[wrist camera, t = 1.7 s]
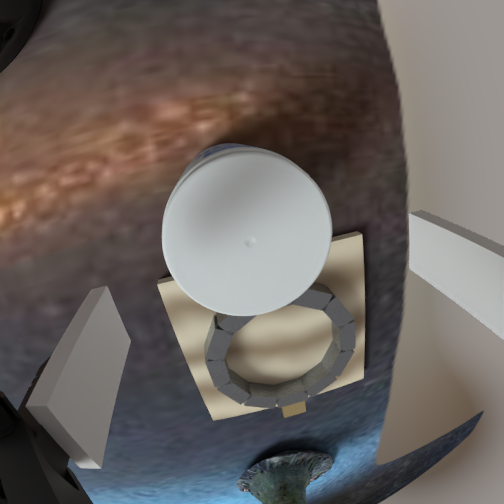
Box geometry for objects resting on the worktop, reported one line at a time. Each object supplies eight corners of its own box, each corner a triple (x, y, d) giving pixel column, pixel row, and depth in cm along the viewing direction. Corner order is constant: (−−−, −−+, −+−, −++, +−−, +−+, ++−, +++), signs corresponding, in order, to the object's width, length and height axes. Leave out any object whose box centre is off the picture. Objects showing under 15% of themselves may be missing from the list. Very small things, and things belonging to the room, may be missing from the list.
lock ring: (181, 279, 31) (179, 291, 28) (341, 240, 32) (352, 248, 30) (230, 416, 39) (232, 430, 36) (347, 383, 40) (354, 395, 38)
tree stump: (266, 496, 53) (268, 558, 36) (217, 447, 51) (207, 519, 33) (343, 468, 52) (362, 531, 34) (306, 413, 49) (323, 488, 31)
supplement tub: (234, 123, 28) (266, 106, 14) (295, 196, 31) (367, 243, 17) (157, 191, 29) (121, 237, 15) (222, 259, 32) (241, 347, 18)
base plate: (158, 279, 32) (157, 284, 31) (357, 231, 33) (362, 234, 32) (212, 414, 40) (213, 420, 39) (360, 373, 42) (363, 378, 40)
